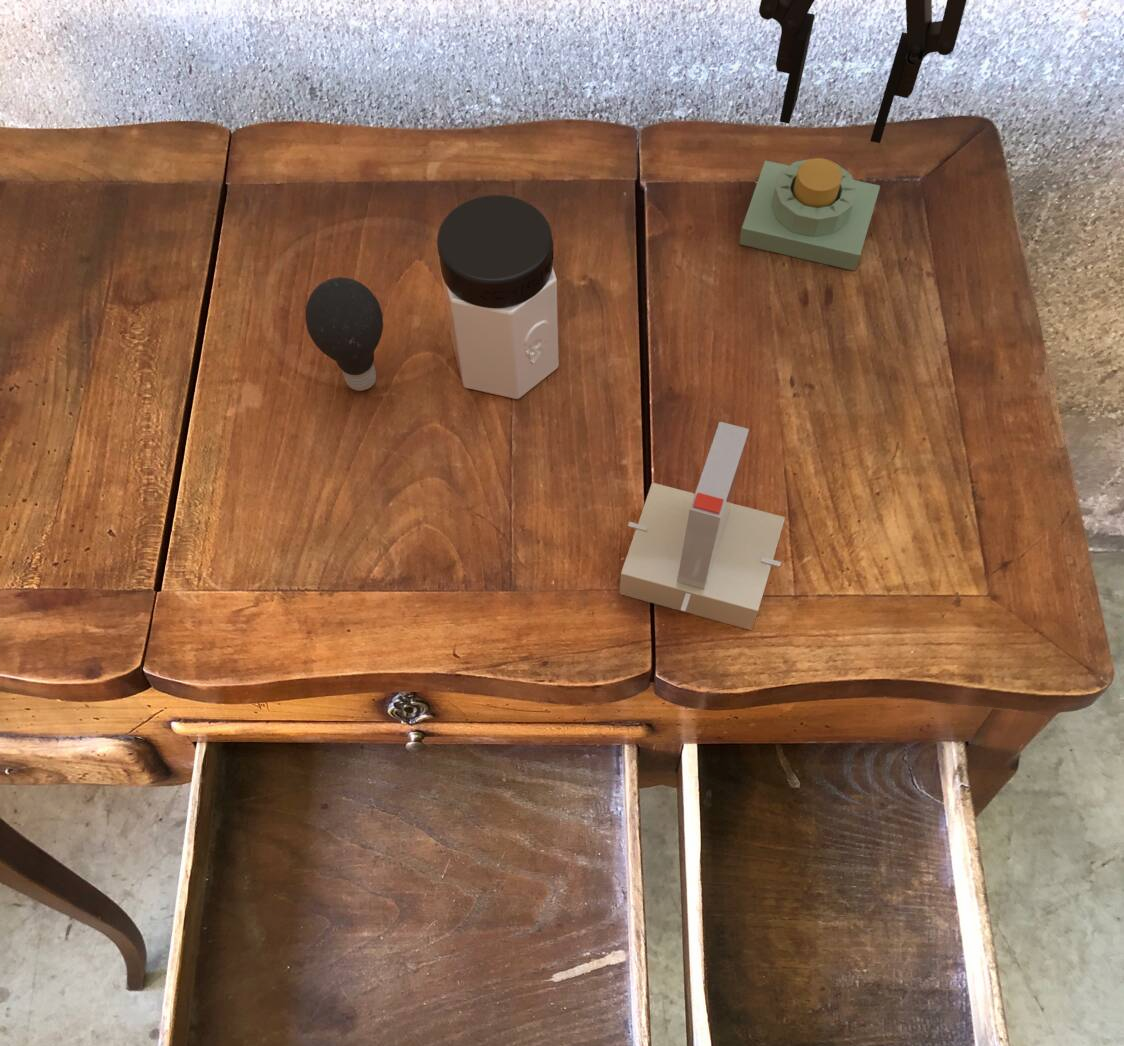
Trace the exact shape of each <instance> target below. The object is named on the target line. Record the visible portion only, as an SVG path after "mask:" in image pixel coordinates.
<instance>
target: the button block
mask: <svg viewBox="0 0 1124 1046" xmlns="http://www.w3.org/2000/svg"><path fill="white" fill-rule="evenodd" d="M810 159H811V158H808V159H802V160H797V161H794V162H793V163H791V164H790V165H788V164H783V163H779V162H775V161H771V160H764V162H763V165H762V166H761V167H762V168H761V170H760V173H759V176H758V180H757V182H756V185H755V188H754V191H753V193H752V197H751V199H750V203H749V205H748V207H747V208H748V209H747V212H746V214H745V217H744V219H743V223H742V226H741V228H740V229H741V230H740V235H739V240H738V244H739V245H740V246H745V247H750V248H753V249H758V250H763V251H767V252H771V253H775V254H779V255H784V256H787V257H788V256H789V257H793V258H797V259H801V260H804V261H805V260H806V261H810V262H814V263H819V264H822V265H826V266H827V265H828V266H830V267H836V268H839V269H845V270H849V271H853V272H855V271H856V270H857V267H858V264H859V262H860V258H861V254H862V252H863V248H864V245H865V241H866V238H867V235H868V230H869V227H870V223H871V220H872V217H873V213H874V210H875V206H876V203H877V199H878V196H879V193H880V189H881V185H879V184H873V183H870V182H866V181H860V180H857V179H854V178H853V176H852V174H851V173H850V172H849V171H847V170H846V169H844V168H843V167H842V166H840V165H839V164H838V163H835V162H834V163H835V164H836V165H837V166H838V167H839V168H840V170H841V173H842V180H841V183H840V187H839V191H838V194H837V197H836V199H835V201H834V202H833V203H832V204H831V205H829V206H827V207H821V208H814V207H810V206H805V205H803V204H802V203H800V202H799V201H798V200H797V199H796V198H795V196H794V192H793V190H794V185H795V180H796V176H797V171H798V169H799V167H800V166H801V164H802V163H804V162H805V161H807V160H810Z"/></svg>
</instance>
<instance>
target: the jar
mask: <svg viewBox="0 0 1124 1046" xmlns="http://www.w3.org/2000/svg"><path fill="white" fill-rule="evenodd" d="M436 244H437V245H436V246H437V253H438V256H437V258H438V263H439V264H438V265H439V270H440V276H441V283H442V289H443V296H444V302H445V308H446V315H447V320H448V328H449V334H450V340H451V346H452V349H453V353H454V357H455V360H456V364H457V368H458V371H459V375H460V380H461V383H462V386H463V387H464V388H465V389H469V390H473V391H479V392H483V393H486V394H492V395H496V396H500V397H506V398H509V399H514V400H520V399H521V398H522V397H524V396H525V394H527V393H528V392H530V391H531V390H532V389H533V388H535V387H536V386H537V385H538V384H540V383H541V382H542V381H543V380H545V379H546V378H547V377H548V376H549V375H551V374H552V373H553V372H555V371H556V370H557V369H558V368H559V367H560V365H559V364H560V363H559V362H560V361H559V359H560V358H559V357H560V356H559V323H558V321H559V320H558V317H559V316H558V279H557V276H556V273H555V270H554V266H553V265H554V264H553V263H554V253H555V252H554V240H553V234H552V229H551V225H550V224H549V221H548V220H547V217H546V216H545V215H544V214H543V213H542V212H541V211H540V209H538V208H537V207H536V206H535V205H533V204H532V203H530V202H528V201H526V200H524V199H521V198H518V197H516V196H511V195H505V194H488V195H482V196H481V195H480V196H477V197H474V198H471V199H469V200H466V201H463V202H462V203H460V204H459V205H458V206H456V207H454V208H453V209H451V211H450V212H449V213H448V214H447V215H446V216H445V217H444V219H443V220H442V222H441V224H440V226H439V228H438V231H437V236H436Z"/></svg>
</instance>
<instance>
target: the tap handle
mask: <svg viewBox="0 0 1124 1046" xmlns="http://www.w3.org/2000/svg"><path fill="white" fill-rule="evenodd" d="M749 433H750V428H747V427H743V426H739V425H736V424H732V423H727V422H725V421H724V422H723V421H719V422H718V424H717V427H716V429H715V433H714V435H713V439H712V441H711V445H710V448H709V451H708V454H707V457H706V459H705V462H704V466H703V468H702V471H701V475H700V477H699V480H698V484H697V486H696V489H695V492H694V493H695V495H694V498H693V501H692V504H691V507H690V510H689V516H688V522H687V527H686V533H685V538H684V544H683V550H682V555H681V561H680V567H679V572H678V578H677V582H680V583H684V584H688V585H691V586H695V587H698V588H702V589H704V588H705V585H706V582H707V579H708V576H709V573H710V570H711V567H712V564H713V560H714V557H715V554H716V551H717V548H718V545H719V542H720V539H721V536H722V533H723V529H724V526H725V523H726V520H727V517H728V514H729V511H730V508H731V503H733V499H734V495H735V492H736V491H735V490H736V487H737V484H738V478H739V475H740V470H741V466H742V461H743V458H744V453H745V449H746V446H747V441H748V437H749Z"/></svg>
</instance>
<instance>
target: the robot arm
mask: <svg viewBox="0 0 1124 1046" xmlns="http://www.w3.org/2000/svg"><path fill="white" fill-rule="evenodd" d="M815 1H816V0H760V2H759V3H760V4H759V7H758V13H759V16H760V17H761V18H762V19H764V20H767V21H768V20H772V19H773V20H774V21H776V22H777V23H778V24H779V26H780V29H781V33H780V38H779V43H778V50H777V55H776V59H775V67H776V68H775V69H776V71H777V72H779V73H783V74H788V77H787V81H786V85H785V91H784V97H783V102H782V107H781V111H780V116H779V123H784V124H790V122H791V119H792V116H793V113H794V110H795V107H796V105H797V101H798V97H799V92H800V88H801V83H802V79H803V74H804V69H805V64H806V61H807V56H808V55H807V54H808V51H809V45H810V40H811V36H812V32H813V26H814V23H815V19H816V18H815V17H816V14H814V13H810V10H811V7H812V6H813V4H814V2H815ZM967 1H968V0H946V4H945V8H944V12H943V16H942V20H937V21H933V3H932V2H933V0H905V18H906V19H905V21H906V24H905V25H906V32H901V35H900V38H899V41H898V44H897V48H896V51H895V55H894V58H893V62H892V65H891V69H890V72H889V76H888V79H887V82H886V86H885V89H884V91H883V96H882V99H881V101H880V102H881V103H880V106H879V110H878V113H877V117H876V120H875V123H874V126H873V130H872V134H871V136H870V140H869V141H870V142H871V143H877V144H881V141H882V138H883V135H884V131H885V128H886V125H887V122H888V118H889V115H890V111H891V108H892V104H893V101H894V98H895V97H898V98H899V97H900V98H904V99H908V98H909V97H910V96H911V94H912V93H913V91H914V88H915V85H916V81H917V79H918V75H919V72H920V69H921V65H922V63H923V61H924V58H925V57H926V56H928V55H929V54H932V53H938V54H939V55H941V56H948V55H950V54H951V53H952V52H953V51H954V49H955V47H956V43H957V40H958V36H959V32H960V29H961V24H962V20H963V16H964V14H965V13H964V12H965V8H966V5H967Z"/></svg>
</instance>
